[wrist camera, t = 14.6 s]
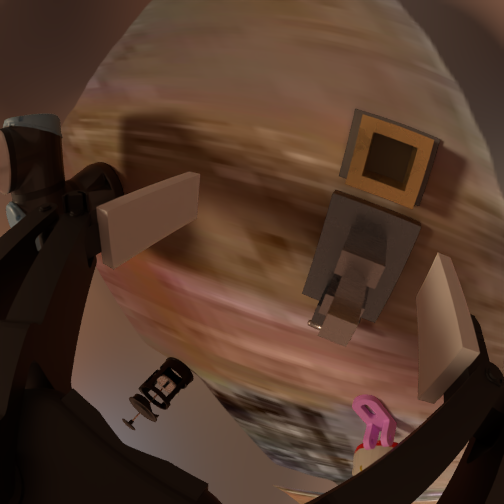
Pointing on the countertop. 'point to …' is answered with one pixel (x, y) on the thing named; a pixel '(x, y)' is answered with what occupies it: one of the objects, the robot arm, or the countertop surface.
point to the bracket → (375, 421)
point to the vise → (356, 264)
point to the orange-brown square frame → (382, 184)
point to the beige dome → (369, 456)
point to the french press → (167, 382)
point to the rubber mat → (387, 153)
